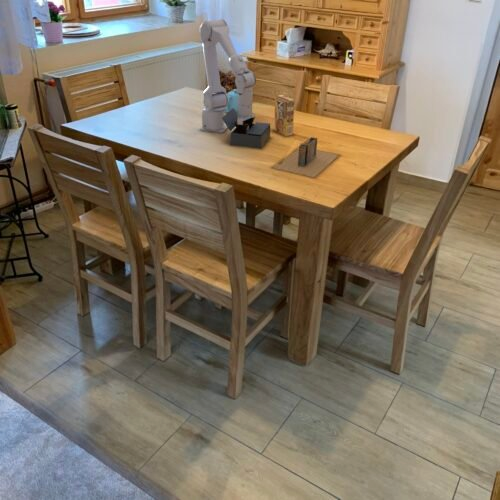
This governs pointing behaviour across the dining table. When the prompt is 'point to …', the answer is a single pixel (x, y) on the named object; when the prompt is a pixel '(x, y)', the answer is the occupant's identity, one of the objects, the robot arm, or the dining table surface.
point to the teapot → (232, 101)
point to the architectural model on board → (307, 159)
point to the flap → (230, 119)
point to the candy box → (284, 115)
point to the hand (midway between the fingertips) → (244, 136)
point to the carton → (252, 136)
